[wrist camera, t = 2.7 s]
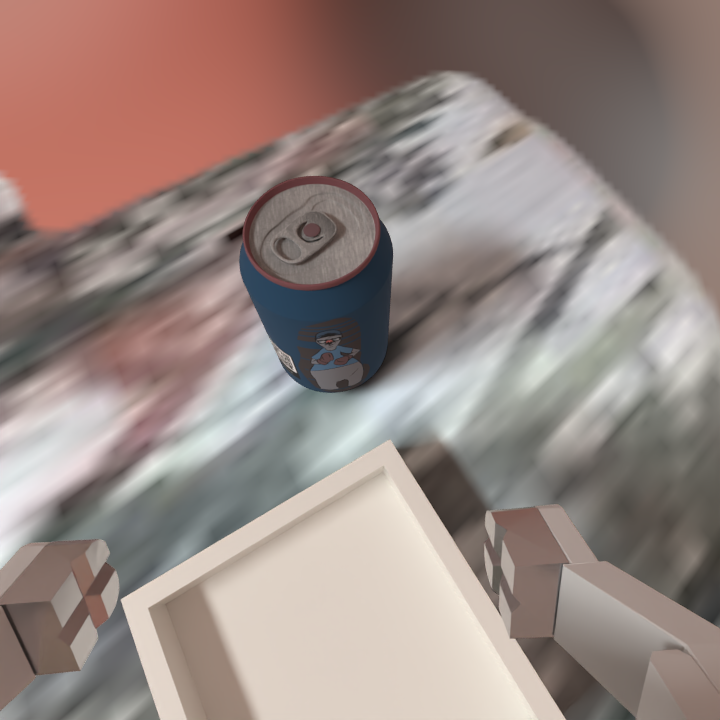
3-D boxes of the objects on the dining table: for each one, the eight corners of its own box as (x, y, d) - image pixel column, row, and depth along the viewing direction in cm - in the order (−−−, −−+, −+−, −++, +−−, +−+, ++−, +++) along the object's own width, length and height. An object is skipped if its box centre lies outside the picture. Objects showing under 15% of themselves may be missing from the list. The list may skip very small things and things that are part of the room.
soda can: (338, 285, 32) (319, 141, 21) (409, 351, 30) (430, 228, 19) (259, 347, 30) (194, 225, 19) (329, 422, 28) (300, 333, 17)
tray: (149, 594, 24) (120, 599, 22) (388, 451, 27) (390, 439, 24) (272, 943, 19) (255, 1007, 16) (555, 721, 22) (581, 744, 19)
